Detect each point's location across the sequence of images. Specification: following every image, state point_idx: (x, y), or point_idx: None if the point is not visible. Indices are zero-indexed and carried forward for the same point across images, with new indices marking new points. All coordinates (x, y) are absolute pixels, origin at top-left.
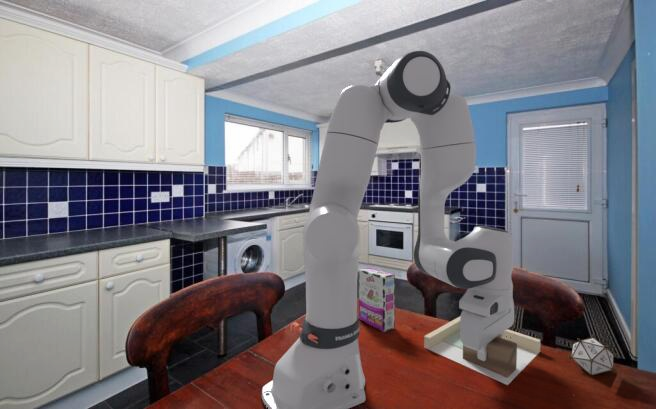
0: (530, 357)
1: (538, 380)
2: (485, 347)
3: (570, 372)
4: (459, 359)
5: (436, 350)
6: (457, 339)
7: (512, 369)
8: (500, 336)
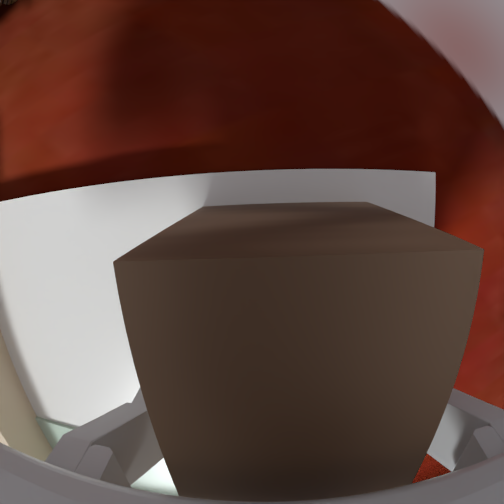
0: (18, 213)
1: (186, 81)
2: (497, 422)
3: (9, 55)
4: None
5: None
6: None
7: (277, 206)
8: (105, 441)
